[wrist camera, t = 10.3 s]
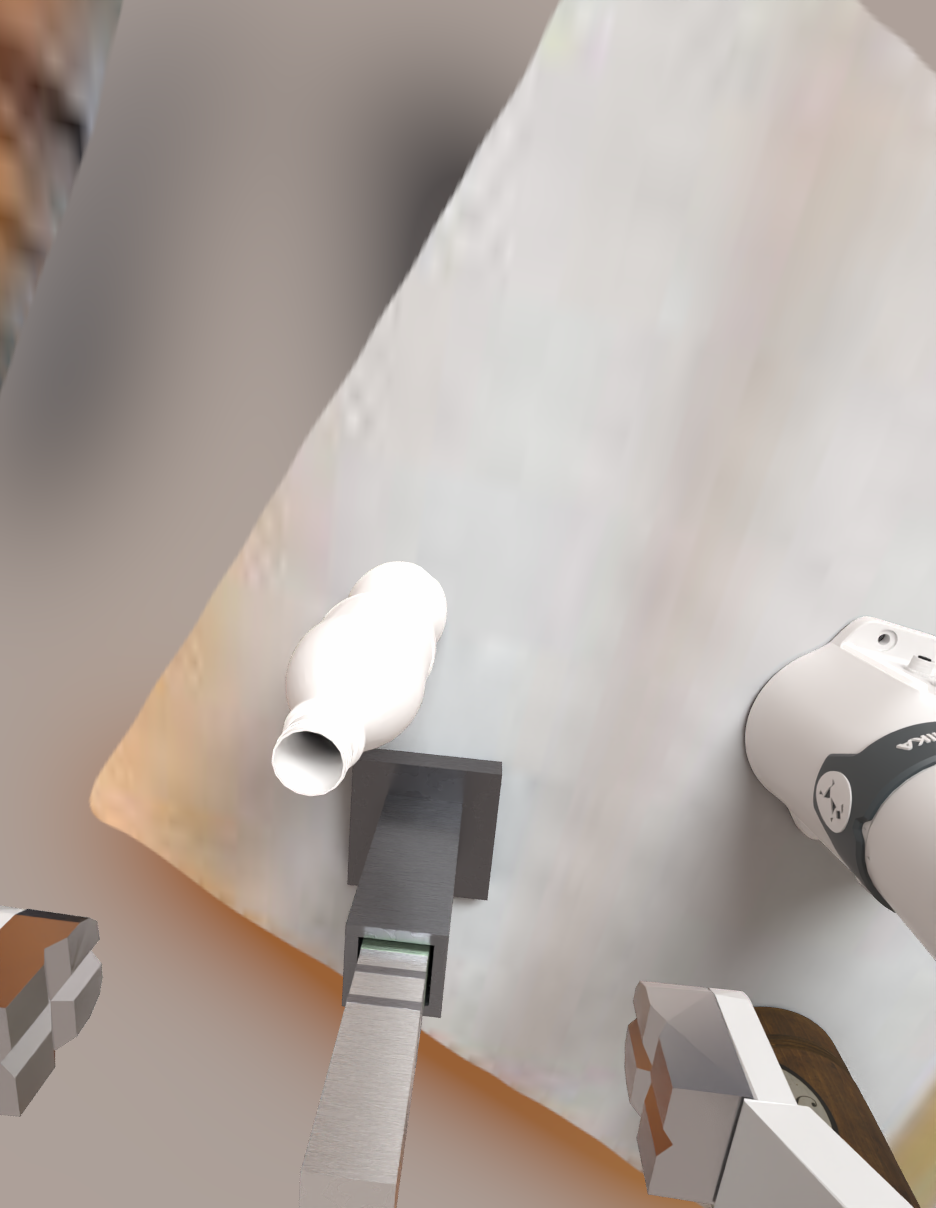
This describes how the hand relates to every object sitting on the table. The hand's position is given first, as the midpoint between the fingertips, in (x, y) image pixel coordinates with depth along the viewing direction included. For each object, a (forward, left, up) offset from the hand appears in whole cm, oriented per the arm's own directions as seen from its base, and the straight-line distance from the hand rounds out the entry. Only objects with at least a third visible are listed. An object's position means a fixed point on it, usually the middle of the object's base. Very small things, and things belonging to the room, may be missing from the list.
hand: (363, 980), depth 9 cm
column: (+2, +24, -31) cm, 39 cm away
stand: (+2, +24, -39) cm, 46 cm away
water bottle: (+5, +5, -39) cm, 40 cm away
